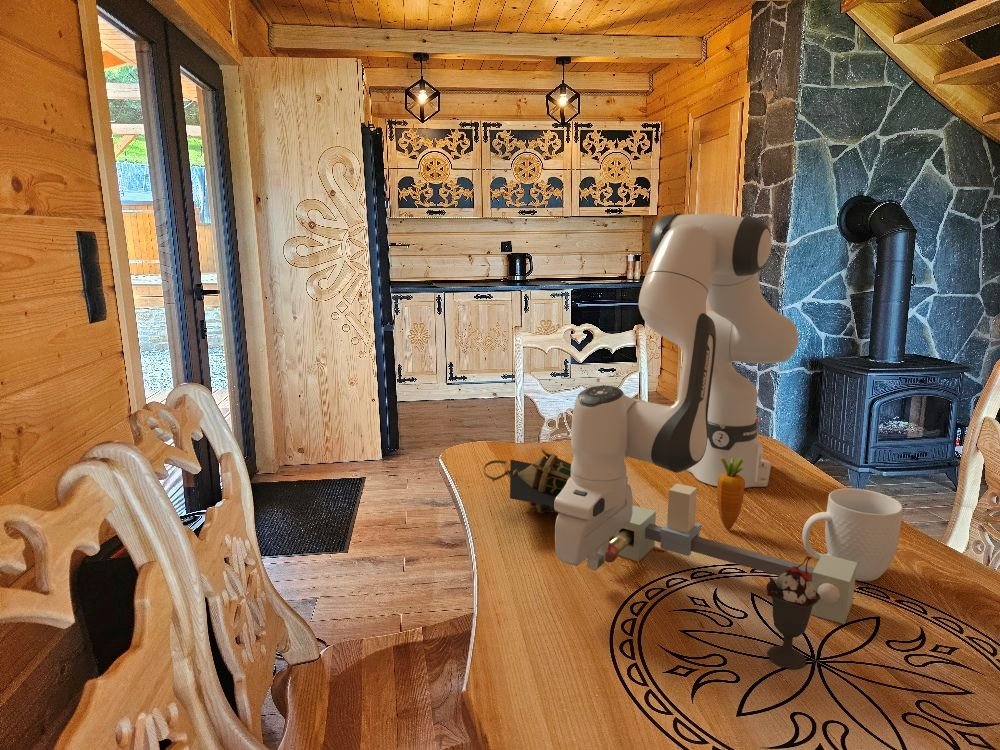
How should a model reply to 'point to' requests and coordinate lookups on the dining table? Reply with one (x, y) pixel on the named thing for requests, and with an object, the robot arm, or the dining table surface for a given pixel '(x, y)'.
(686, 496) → the carriage
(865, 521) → the mug
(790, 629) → the sundae
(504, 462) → the lantern
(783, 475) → the dining table surface
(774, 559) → the guide rail
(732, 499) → the carrot
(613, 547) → the cylinder
